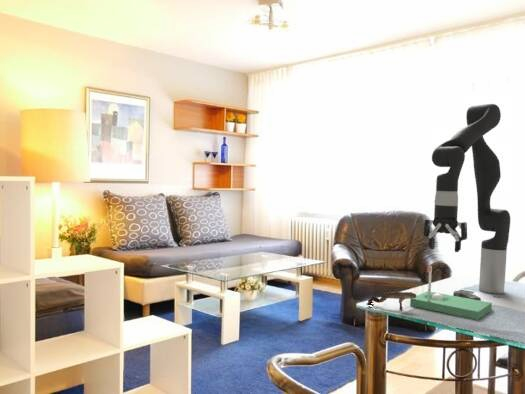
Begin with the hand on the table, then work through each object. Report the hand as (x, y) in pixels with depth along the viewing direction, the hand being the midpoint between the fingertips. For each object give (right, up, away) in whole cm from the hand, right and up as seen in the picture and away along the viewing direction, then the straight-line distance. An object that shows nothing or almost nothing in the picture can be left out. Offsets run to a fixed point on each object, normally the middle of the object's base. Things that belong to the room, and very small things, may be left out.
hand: (444, 250), depth 164 cm
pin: (-8, -17, -6) cm, 20 cm away
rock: (+10, -20, +7) cm, 23 cm away
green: (+1, -19, -3) cm, 20 cm away
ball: (-2, -17, 0) cm, 17 cm away
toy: (-20, -19, -6) cm, 28 cm away
